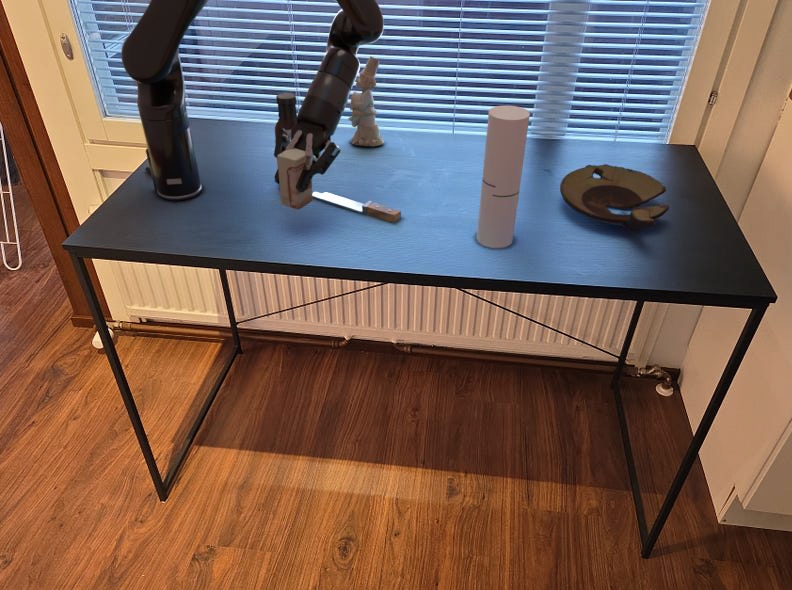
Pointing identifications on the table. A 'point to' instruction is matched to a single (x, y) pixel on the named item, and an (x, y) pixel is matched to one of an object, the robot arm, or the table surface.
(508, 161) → the cylindrical container
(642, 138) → the table surface
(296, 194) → the tan rectangular box
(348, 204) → the knife
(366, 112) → the figurine
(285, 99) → the sauce bottle
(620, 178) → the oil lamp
